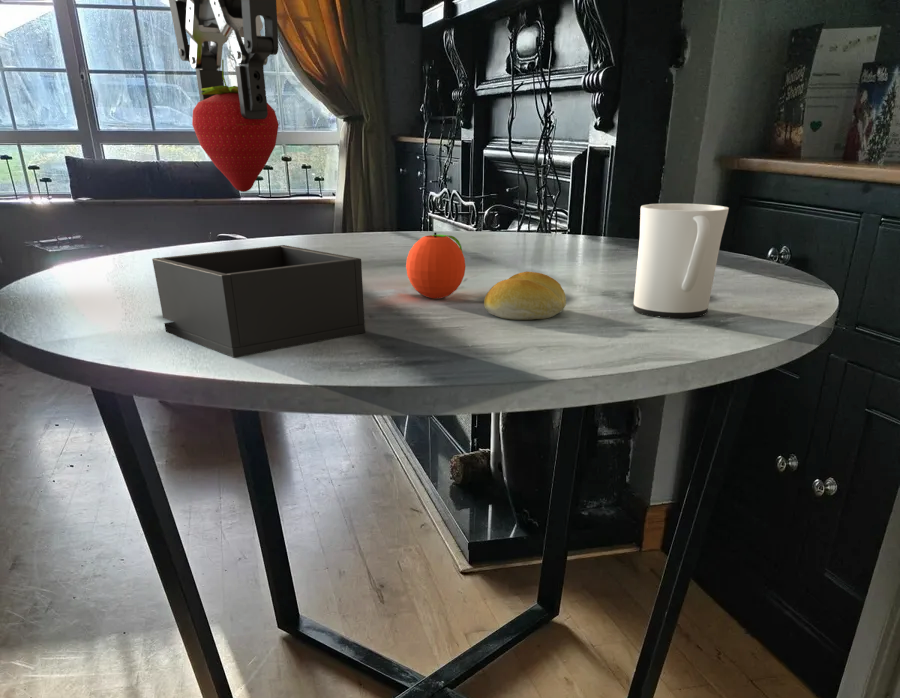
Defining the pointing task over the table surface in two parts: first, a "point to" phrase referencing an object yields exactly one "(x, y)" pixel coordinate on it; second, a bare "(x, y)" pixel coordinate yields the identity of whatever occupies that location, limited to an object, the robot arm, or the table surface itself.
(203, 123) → the strawberry
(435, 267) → the clementine
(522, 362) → the table surface
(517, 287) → the bread roll
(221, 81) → the robot arm
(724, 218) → the mug
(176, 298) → the open box
